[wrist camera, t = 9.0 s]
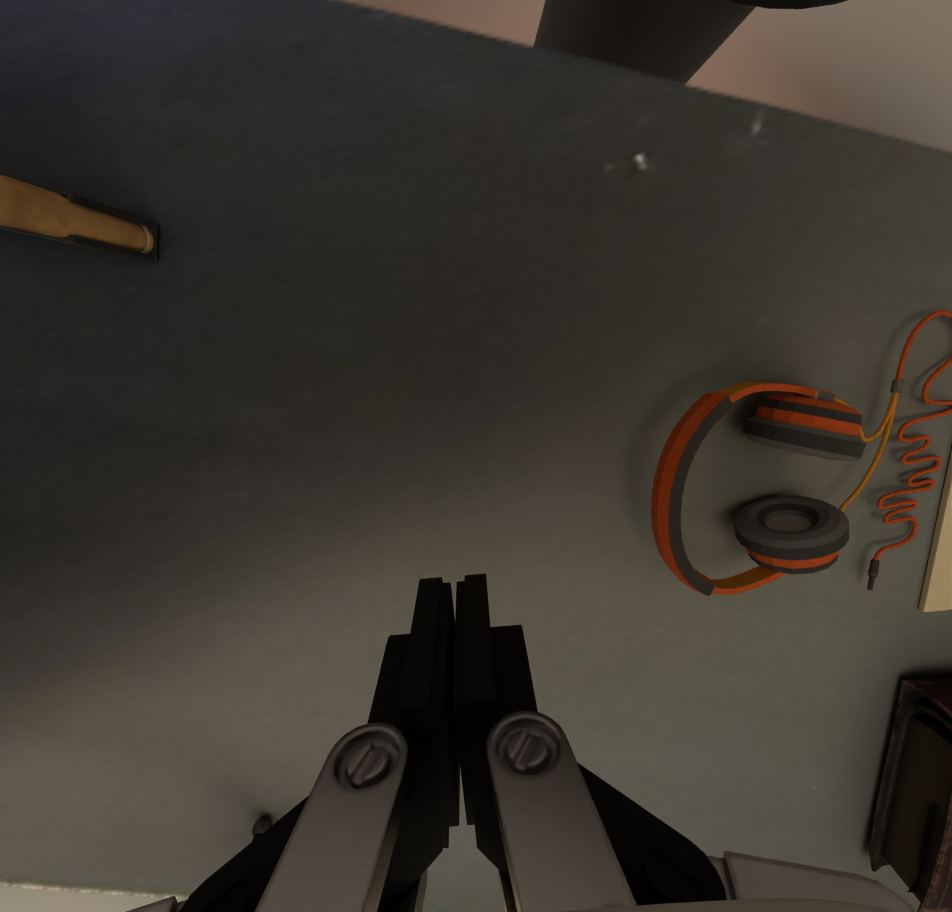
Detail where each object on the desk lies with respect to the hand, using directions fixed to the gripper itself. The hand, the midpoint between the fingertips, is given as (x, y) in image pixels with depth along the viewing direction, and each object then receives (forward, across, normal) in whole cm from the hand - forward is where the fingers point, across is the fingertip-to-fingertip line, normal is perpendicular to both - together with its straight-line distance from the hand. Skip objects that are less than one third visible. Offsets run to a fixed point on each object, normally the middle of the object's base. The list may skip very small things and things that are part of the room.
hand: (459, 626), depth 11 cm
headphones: (+16, -19, +3) cm, 25 cm away
